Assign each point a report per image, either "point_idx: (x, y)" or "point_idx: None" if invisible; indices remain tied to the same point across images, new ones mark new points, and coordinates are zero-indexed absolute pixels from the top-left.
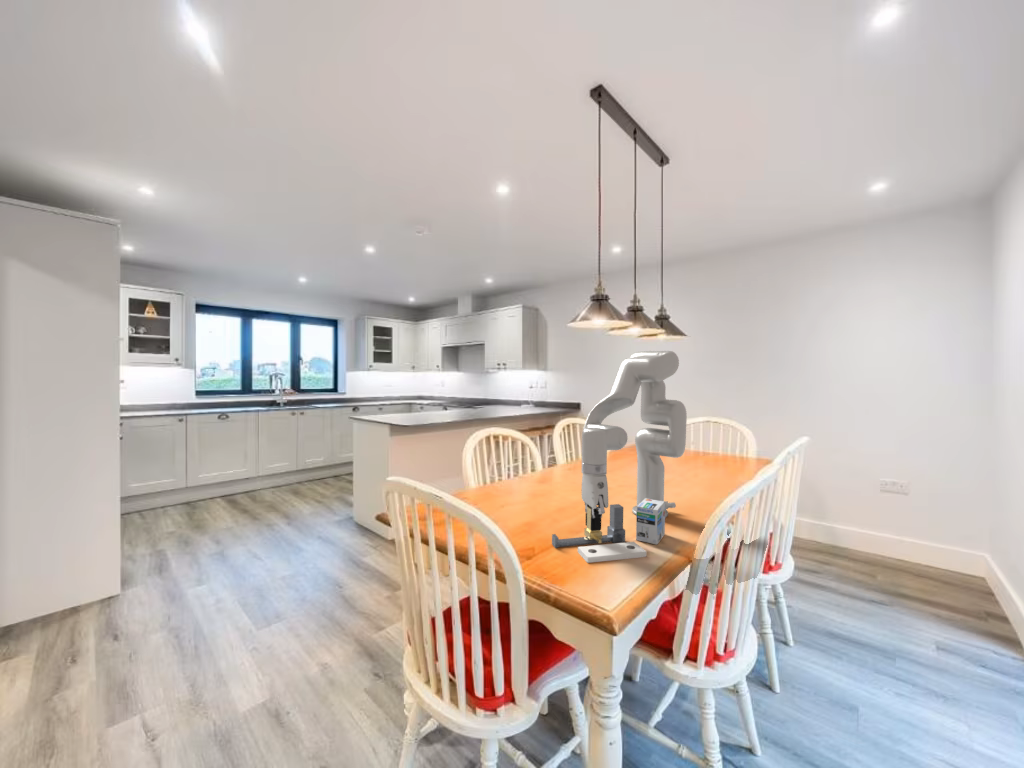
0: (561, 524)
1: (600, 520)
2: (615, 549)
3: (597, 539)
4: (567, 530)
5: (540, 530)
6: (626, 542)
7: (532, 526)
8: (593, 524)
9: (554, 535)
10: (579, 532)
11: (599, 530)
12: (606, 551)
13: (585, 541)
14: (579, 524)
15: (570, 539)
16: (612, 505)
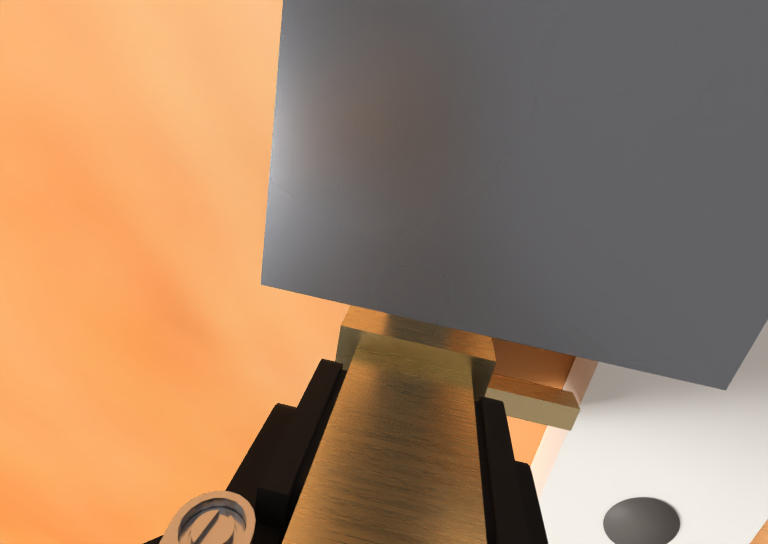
0: (3, 334)
1: (515, 507)
2: (752, 355)
3: (534, 420)
4: (129, 363)
5: (100, 504)
6: None
7: (28, 506)
8: None
9: None
10: (187, 307)
11: (471, 386)
12: (724, 445)
13: None
14: (11, 198)
15: None
16: (400, 254)
